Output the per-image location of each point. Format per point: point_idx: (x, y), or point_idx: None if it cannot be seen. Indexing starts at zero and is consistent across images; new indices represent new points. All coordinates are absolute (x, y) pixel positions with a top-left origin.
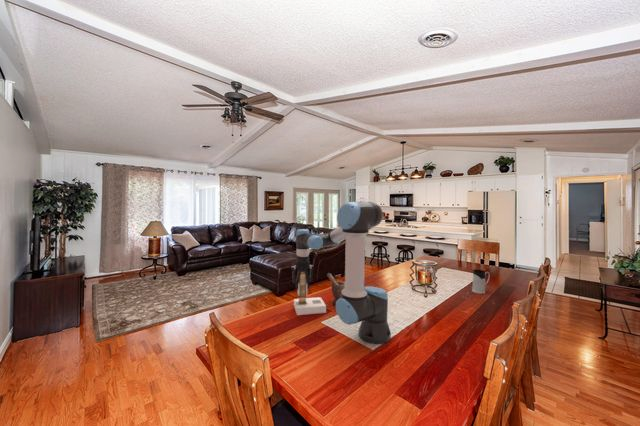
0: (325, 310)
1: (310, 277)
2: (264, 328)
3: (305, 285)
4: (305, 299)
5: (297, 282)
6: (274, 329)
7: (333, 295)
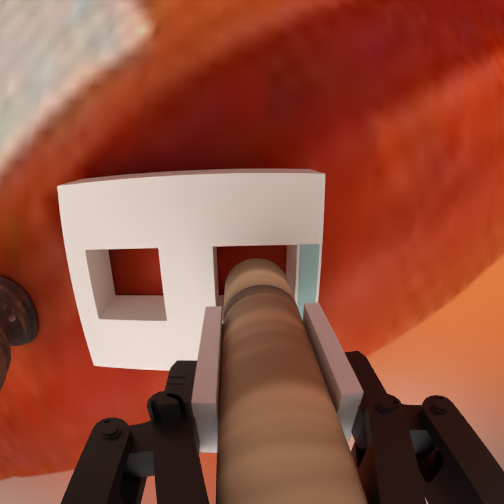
0: (79, 180)
1: (107, 500)
2: (490, 66)
3: (228, 390)
4: (228, 287)
5: (389, 418)
6: (451, 32)
7: (4, 337)
